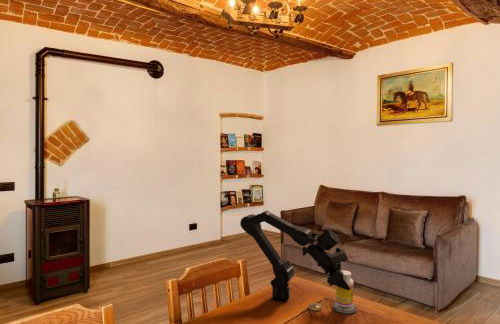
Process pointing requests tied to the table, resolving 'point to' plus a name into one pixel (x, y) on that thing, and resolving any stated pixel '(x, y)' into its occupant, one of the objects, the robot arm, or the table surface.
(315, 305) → the small brass flange
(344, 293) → the supplement bottle
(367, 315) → the table surface
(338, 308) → the flange pad
